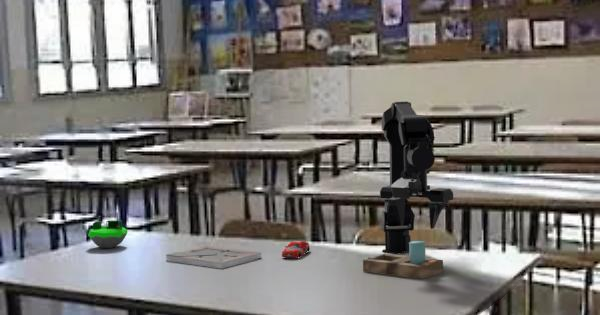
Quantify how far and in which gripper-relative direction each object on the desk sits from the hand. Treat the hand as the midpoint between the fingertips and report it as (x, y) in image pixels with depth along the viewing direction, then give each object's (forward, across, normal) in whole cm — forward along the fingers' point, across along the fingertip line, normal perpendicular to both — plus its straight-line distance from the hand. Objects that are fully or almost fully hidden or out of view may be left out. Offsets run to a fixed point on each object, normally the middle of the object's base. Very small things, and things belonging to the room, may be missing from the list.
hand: (416, 227), depth 242 cm
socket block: (+12, -4, 0) cm, 13 cm away
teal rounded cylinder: (+12, 0, 0) cm, 12 cm away
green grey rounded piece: (+12, -102, -16) cm, 104 cm away
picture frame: (+13, -59, -14) cm, 62 cm away
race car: (+12, -43, +3) cm, 45 cm away
